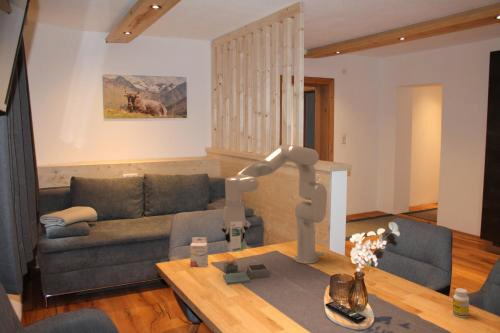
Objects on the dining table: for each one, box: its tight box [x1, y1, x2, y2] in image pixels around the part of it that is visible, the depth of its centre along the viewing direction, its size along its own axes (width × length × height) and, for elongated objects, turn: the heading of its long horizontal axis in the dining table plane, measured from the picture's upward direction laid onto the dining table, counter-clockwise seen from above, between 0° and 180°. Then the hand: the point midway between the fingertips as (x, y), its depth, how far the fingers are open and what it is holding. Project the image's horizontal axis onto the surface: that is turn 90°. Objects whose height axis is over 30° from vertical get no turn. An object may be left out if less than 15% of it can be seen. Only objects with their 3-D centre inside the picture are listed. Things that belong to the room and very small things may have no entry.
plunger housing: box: [223, 260, 239, 274], centre depth 215 cm, size 6×6×4 cm
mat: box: [222, 271, 251, 286], centre depth 205 cm, size 11×11×1 cm
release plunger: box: [225, 257, 235, 265], centre depth 215 cm, size 4×4×6 cm
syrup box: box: [227, 221, 244, 253], centre depth 203 cm, size 6×6×14 cm
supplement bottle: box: [452, 287, 470, 319], centre depth 162 cm, size 5×5×10 cm
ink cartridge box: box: [189, 236, 209, 268], centre depth 225 cm, size 9×5×15 cm, turn 84°
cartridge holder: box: [246, 263, 271, 280], centre depth 210 cm, size 9×9×4 cm
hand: (235, 240), depth 203 cm, fingers closed on syrup box, 6 cm apart
